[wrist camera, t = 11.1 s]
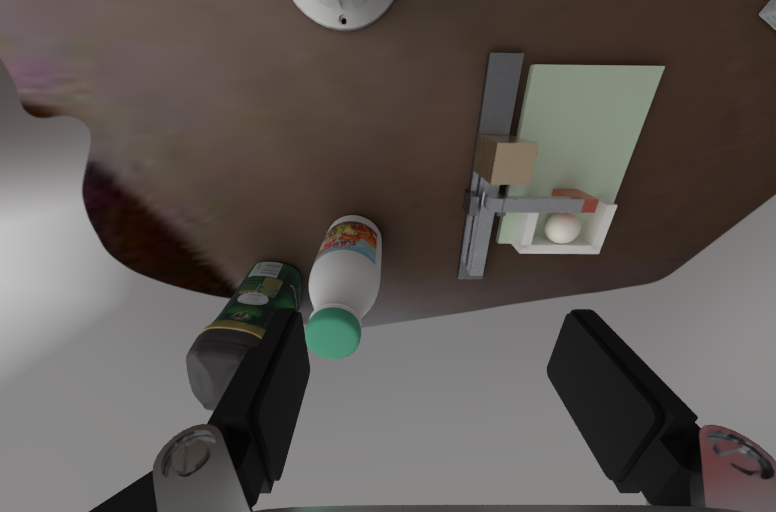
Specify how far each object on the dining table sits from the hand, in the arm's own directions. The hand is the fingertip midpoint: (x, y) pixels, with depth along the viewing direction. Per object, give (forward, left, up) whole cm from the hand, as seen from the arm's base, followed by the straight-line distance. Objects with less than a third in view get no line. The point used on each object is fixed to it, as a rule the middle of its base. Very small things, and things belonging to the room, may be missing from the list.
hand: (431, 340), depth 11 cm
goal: (+7, +21, -29) cm, 37 cm away
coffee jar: (+18, -18, -31) cm, 40 cm away
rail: (+2, +11, -30) cm, 32 cm away
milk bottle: (+10, -6, -31) cm, 33 cm away
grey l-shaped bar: (+5, +16, -29) cm, 33 cm away
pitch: (-1, +21, -30) cm, 37 cm away
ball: (+7, +21, -27) cm, 35 cm away
